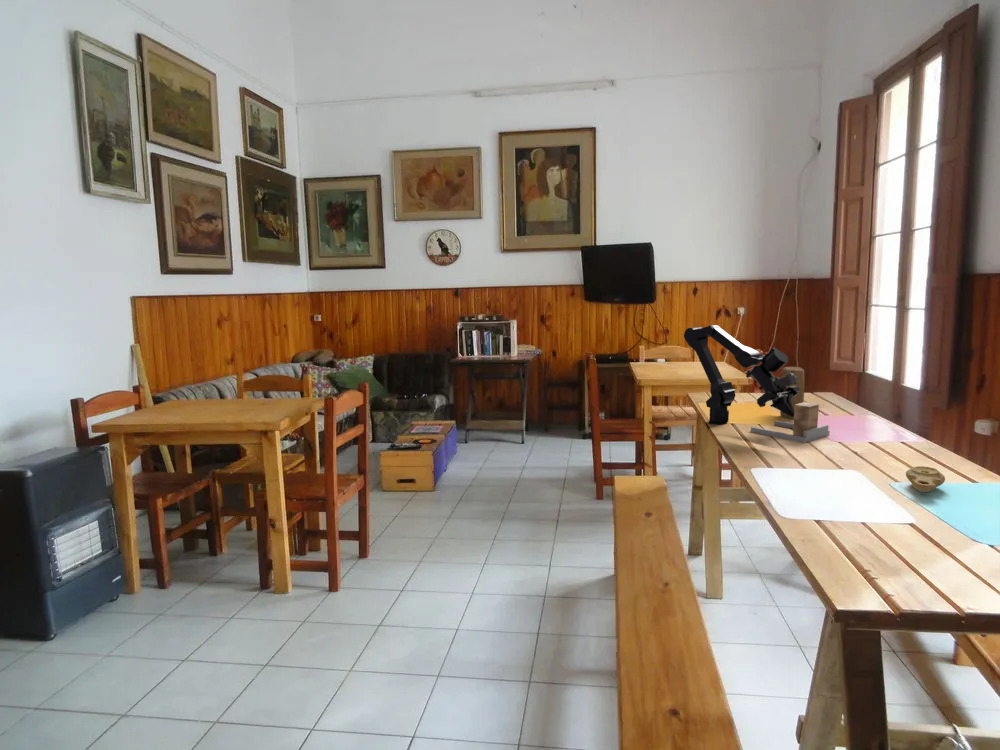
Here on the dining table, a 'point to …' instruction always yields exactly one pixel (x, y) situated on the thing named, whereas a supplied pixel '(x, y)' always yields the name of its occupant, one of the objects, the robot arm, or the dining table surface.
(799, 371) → the block
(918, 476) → the oil lamp
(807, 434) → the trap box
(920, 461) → the dining table surface
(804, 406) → the slider
